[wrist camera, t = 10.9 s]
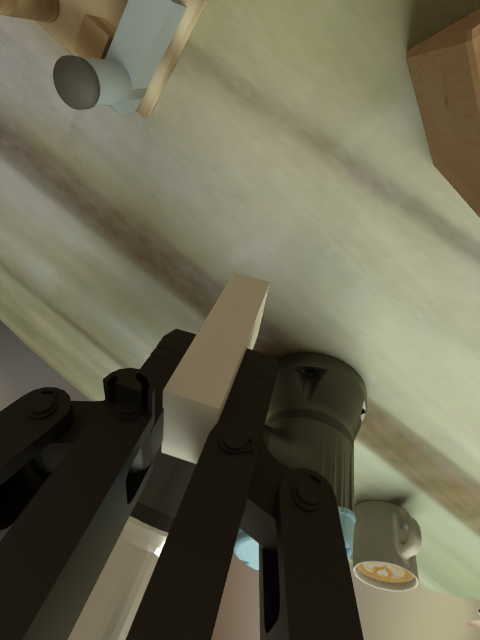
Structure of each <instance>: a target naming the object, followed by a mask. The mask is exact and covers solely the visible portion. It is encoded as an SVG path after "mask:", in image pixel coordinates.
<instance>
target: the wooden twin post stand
mask: <svg viewBox="0 0 480 640" xmlns="http://www.w3.org/2000/svg"><path fill="white" fill-rule="evenodd" d="M180 1H181V2H182V3H183V4H184V5H185V6H186V7H187V9H186V11H185V13H184V15H183V17H182V19H181V21H180V23H179V25H178V27H177V29H176V31H175V33H174V35H173V37H172V39H171V41H170V43H169V45H168V47H167V49H166V51H165V53H164V55H163V57H162V60H161V62H160V64H159V66H158V68H157V70H156V72H155V74H154V76H153V78H152V80H151V82H150V84H149V86H148V88H147V91H146V94H145V96H144V97H143V98H142V100H141V102H140V104H139V106H138V108H137V110H136V111H137V112H138V113H139V114H140V115H142V116H143V117H146V116H150V115H151V113H152V111H153V109H154V107H155V105H156V103H157V101H158V99H159V97H160V95H161V93H162V91H163V89H164V87H165V85H166V83H167V81H168V79H169V77H170V75H171V73H172V71H173V69H174V67H175V65H176V63H177V61H178V59H179V57H180V55H181V53H182V51H183V49H184V47H185V45H186V43H187V41H188V39H189V37H190V35H191V33H192V31H193V29H194V27H195V25H196V23H197V21H198V19H199V17H200V15H201V13H202V11H203V9H204V7H205V5H206V3H207V1H208V0H180ZM127 3H128V0H0V15H6V16H12V17H18V18H24V19H30V20H35V21H36V22H37V23H38V24H39V25H41V26H42V27H43V28H44V29H45V30H46V31H47V32H48V33H50V34H51V35H52V36H53V37H54V38H55V39H56V40H57V41H59V42H60V43H61V44H62V45H63V46H64V47H65V48H66V49H68V50H69V51H70V52H71V53H72V54H73V55H74V56H79V57H81V58H92V59H105V58H106V55H107V53H108V50H109V48H110V45H111V43H112V40H113V38H114V35H115V33H116V30H117V28H118V25H119V23H120V20H121V18H122V15H123V13H124V10H125V8H126V5H127Z"/></svg>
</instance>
